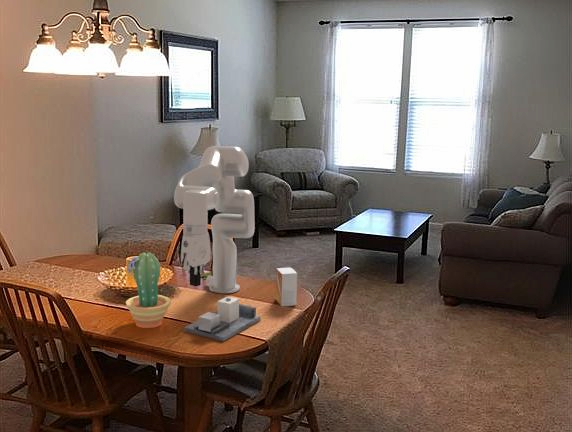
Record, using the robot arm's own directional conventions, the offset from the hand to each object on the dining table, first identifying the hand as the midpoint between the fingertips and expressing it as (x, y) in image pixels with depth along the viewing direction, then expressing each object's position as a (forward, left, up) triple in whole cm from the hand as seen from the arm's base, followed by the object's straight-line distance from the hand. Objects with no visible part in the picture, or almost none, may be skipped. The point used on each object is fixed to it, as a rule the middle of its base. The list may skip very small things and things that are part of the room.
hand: (195, 285), depth 200 cm
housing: (0, +19, -18) cm, 26 cm away
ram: (0, +9, -17) cm, 20 cm away
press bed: (0, +16, -19) cm, 25 cm away
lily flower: (-38, +61, -20) cm, 75 cm away
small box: (+6, +50, -19) cm, 54 cm away
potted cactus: (-23, +4, -19) cm, 30 cm away
